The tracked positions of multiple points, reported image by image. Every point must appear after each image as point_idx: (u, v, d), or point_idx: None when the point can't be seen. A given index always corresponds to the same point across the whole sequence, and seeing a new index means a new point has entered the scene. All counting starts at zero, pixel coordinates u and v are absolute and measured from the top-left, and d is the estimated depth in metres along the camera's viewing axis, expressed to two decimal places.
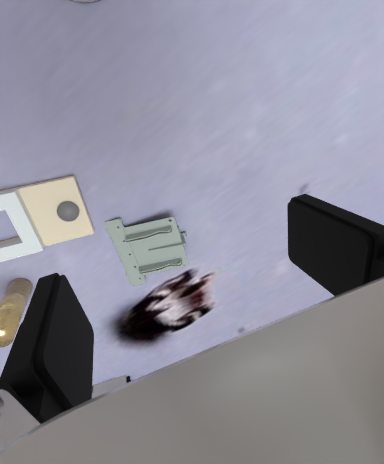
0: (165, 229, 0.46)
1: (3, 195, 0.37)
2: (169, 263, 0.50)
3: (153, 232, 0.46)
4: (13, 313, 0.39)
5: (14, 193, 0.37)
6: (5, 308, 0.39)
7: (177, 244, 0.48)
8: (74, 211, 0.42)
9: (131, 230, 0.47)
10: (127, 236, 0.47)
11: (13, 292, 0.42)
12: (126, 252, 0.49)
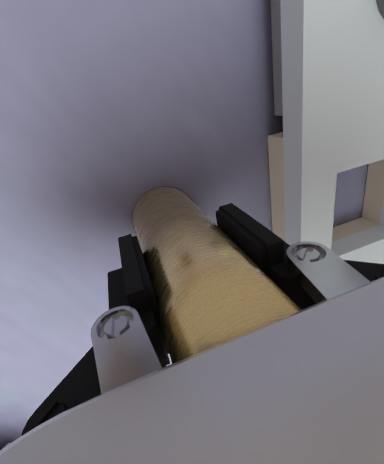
0: None
1: None
2: None
3: None
4: None
5: None
6: None
7: None
8: None
9: None
10: None
11: None
12: None
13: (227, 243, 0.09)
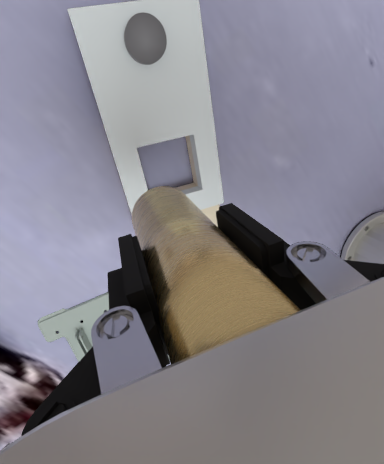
0: None
1: (221, 190, 0.28)
2: None
3: None
4: None
5: (222, 202, 0.29)
6: None
7: None
8: None
9: None
10: None
11: None
12: (108, 306, 0.33)
13: (226, 243, 0.09)
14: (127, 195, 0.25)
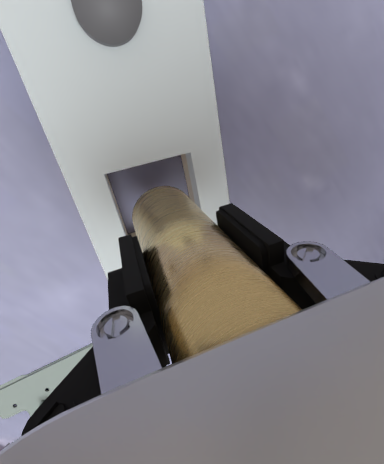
0: None
1: None
2: None
3: None
4: None
5: None
6: None
7: None
8: None
9: None
10: None
11: None
12: None
13: (227, 243, 0.08)
14: (94, 241, 0.17)
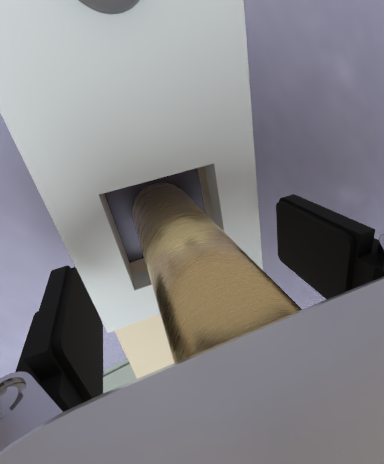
0: None
1: (259, 256, 0.16)
2: None
3: None
4: None
5: None
6: None
7: None
8: None
9: None
10: None
11: None
12: None
13: (217, 232, 0.09)
14: (86, 281, 0.13)
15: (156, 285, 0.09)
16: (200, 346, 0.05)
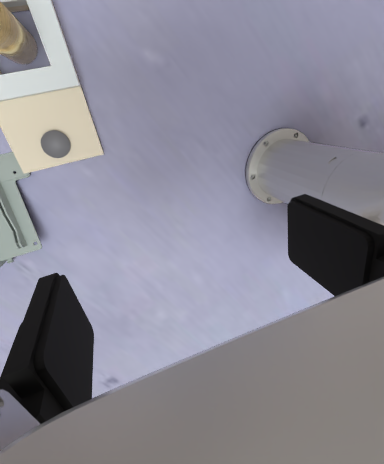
0: (21, 239, 0.33)
1: (72, 69, 0.29)
2: None
3: (13, 223, 0.33)
4: (11, 41, 0.22)
5: (77, 84, 0.29)
6: (17, 28, 0.23)
7: None
8: (57, 152, 0.32)
9: (11, 190, 0.33)
10: None
11: (28, 40, 0.26)
12: None
13: None
14: None
15: None
16: None
